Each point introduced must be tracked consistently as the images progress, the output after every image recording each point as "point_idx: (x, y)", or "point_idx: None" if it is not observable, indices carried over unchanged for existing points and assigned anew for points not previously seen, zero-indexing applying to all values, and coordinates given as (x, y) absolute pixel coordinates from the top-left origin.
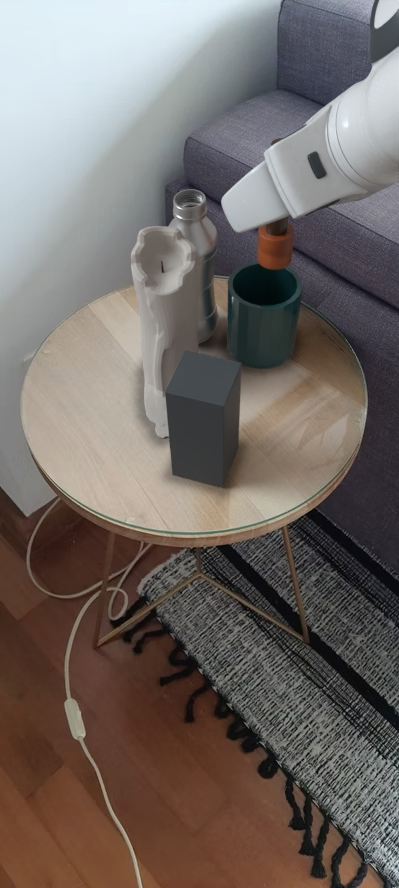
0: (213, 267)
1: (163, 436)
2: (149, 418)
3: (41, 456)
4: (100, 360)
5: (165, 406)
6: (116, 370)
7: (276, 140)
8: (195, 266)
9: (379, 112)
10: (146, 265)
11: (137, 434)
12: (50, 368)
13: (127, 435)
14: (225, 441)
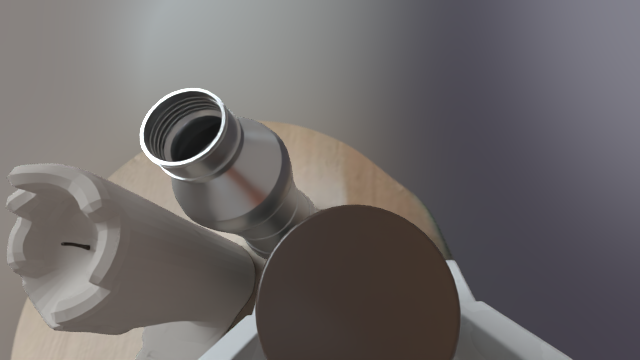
0: (271, 226)
1: None
2: (143, 332)
3: (28, 298)
4: (170, 203)
5: (170, 328)
6: None
7: (342, 226)
8: (107, 302)
9: None
10: (61, 221)
11: (119, 343)
12: (122, 182)
13: (110, 336)
14: None
